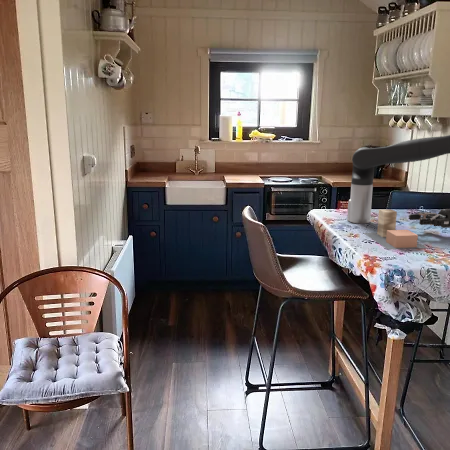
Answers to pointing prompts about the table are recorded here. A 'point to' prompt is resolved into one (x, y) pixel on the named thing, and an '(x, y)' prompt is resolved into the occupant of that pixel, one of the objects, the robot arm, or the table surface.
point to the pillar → (386, 221)
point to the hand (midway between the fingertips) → (414, 219)
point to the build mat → (383, 242)
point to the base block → (401, 238)
